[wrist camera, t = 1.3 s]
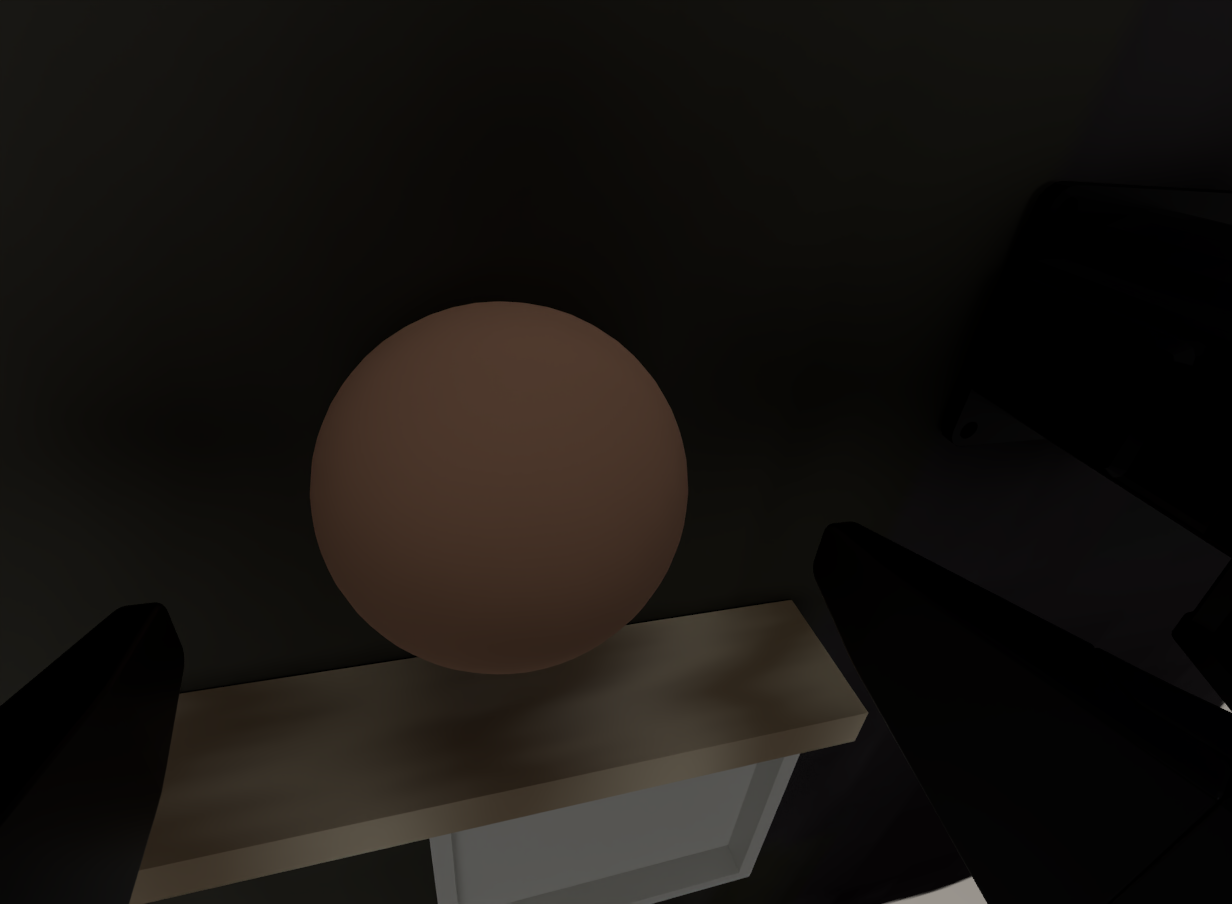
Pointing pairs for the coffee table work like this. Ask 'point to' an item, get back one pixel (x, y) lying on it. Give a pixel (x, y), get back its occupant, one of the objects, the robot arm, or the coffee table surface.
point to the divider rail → (478, 743)
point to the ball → (499, 487)
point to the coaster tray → (618, 844)
